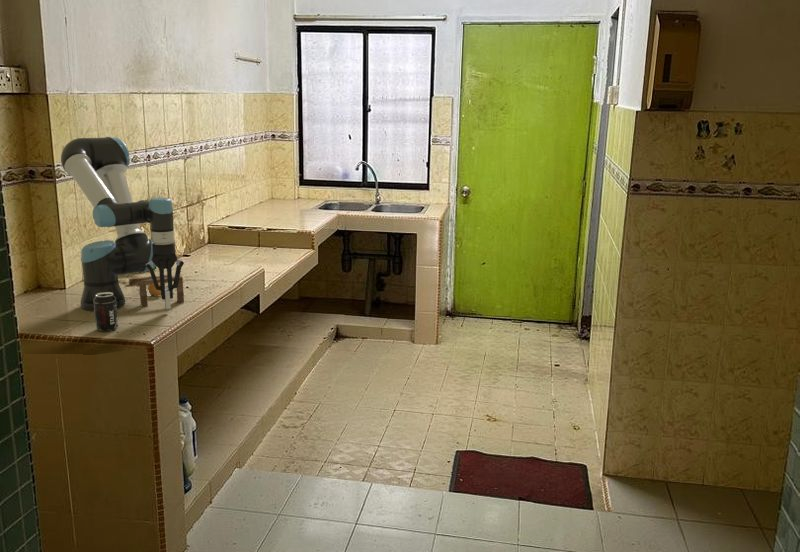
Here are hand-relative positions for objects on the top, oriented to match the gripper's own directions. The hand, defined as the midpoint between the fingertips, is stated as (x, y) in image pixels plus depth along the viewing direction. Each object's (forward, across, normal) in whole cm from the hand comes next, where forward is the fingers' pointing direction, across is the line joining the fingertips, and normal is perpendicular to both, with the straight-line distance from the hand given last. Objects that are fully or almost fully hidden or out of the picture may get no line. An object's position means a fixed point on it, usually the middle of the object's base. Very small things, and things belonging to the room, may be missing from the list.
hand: (167, 307), depth 250 cm
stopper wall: (+2, 0, +47) cm, 47 cm away
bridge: (+2, 0, +13) cm, 13 cm away
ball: (-1, 0, +26) cm, 26 cm away
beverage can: (+2, -21, -11) cm, 24 cm away
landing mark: (+2, 0, +31) cm, 31 cm away
